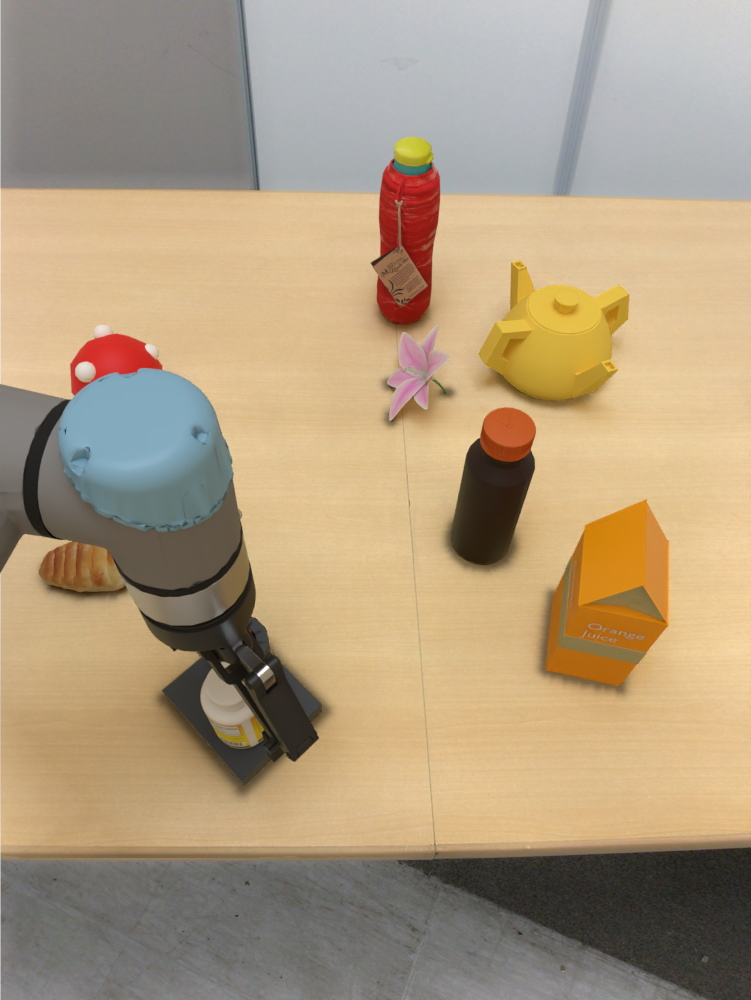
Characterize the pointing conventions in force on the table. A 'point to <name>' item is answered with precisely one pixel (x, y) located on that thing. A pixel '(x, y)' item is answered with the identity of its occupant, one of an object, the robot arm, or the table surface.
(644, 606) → the orange juice
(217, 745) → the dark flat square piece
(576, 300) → the teapot
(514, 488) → the vinegar
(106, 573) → the pastry
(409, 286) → the water bottle
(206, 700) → the supplement bottle
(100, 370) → the mushroom
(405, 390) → the lily
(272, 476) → the table surface
